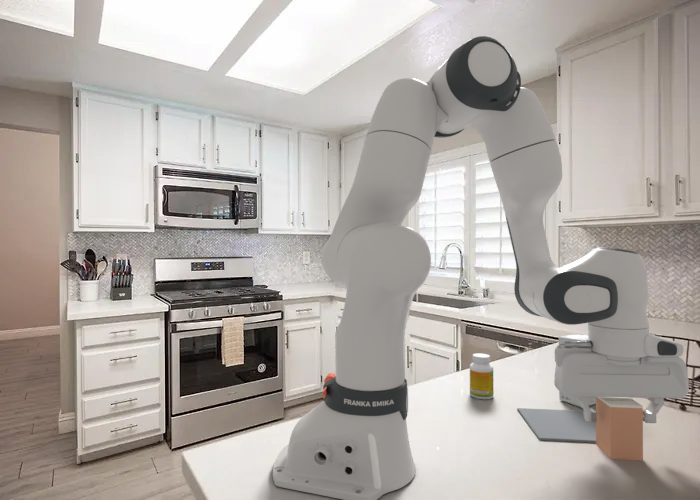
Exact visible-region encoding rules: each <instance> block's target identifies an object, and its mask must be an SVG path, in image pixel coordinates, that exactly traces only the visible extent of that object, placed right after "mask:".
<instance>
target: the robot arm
mask: <svg viewBox="0 0 700 500" xmlns="http://www.w3.org/2000/svg"><path fill="white" fill-rule="evenodd" d="M521 78H522V77H521V74H520V72H519V71H518V68H517V64H516V62H515V60H514V58H513V56H512V55H511V53H510V52H509V50H508V49H507V47H506V46H505V45H503V44H502V42H500V41H498V40H497V39H495V38H493V37H490V36H485V35H483V36H481V35H479V36H476V37H473V38H470V39H469V40H467V41H465V42H463V43H462V44H461V45H459V46H458V47H457V48H456V49H454V51H453V52H452V53H451V54H450V56H449V57H448V59H446V60H445V61H444V63H442V65H441V66H439V67H438V69H437V70H435V72H434V73H433V75H432V76H431V77H430V78H429V80H428V81H426V82H424V81H421V80H419V79H416V78H411V77H410V78H409V77H408V78H405V77H404V78H399V79H396V80H394V81H392V82H391V83H389V84H388V85H387V86H386V87H385V89H384V90H383V92H382V94H381V95H380V98H379V99H378V102H377V104H376V107H375V110H374V112H373V114H372V117H371V119H370V122H369V125H368V128H367V132H366V135H365V139H364V143H363V147H362V151H361V154H360V156H359V162H358V165H357V167H356V172H355V176H354V179H353V183H352V184H351V188H350V190H349V193H348V195H347V197H346V199H345V200H344V203H343V206H342V207H341V210H340V212H339V215H338V216H337V220H336V222H335V224H334V227H333V230H332V232H331V234H330V236H329V238H328V239H327V240H326V242H325V243H324V246H323V247H322V251H321V255H320V258H321V265H322V268H323V270H324V272H325V274H326V275H327V276H328V277H329V278H330V279H331V281H332V282H334V284H336V285H338V286H339V287H341V288H344V289H346V295H345V302H344V306H343V309H342V316H341V319H340V322H339V324H338V325H337V327H336V329H335V335H334V339H335V347H334V348H335V351H334V352H335V353H334V354H335V355H334V356H335V357H334V358H335V359H334V361H335V362H334V363H335V373H333V372H330V373H328V374H327V375H326V377H325V378H324V382H323V385H322V398H323V399H322V400H323V401H322V402H320V403H319V404H318V405H317V406H315V407H313V408H312V409H311V410H310V411H309V412H307V413H306V414H304V415H303V416H301V418H299V420H298V421H297V422H296V424H295V426H294V427H293V430H292V432H291V434H290V437H289V442H288V444H287V445H286V446H285V447H283V449H282V450H281V451H280V452H279V454H278V456H277V457H276V458H275V461H274V465H273V467H272V480H273V483H274V485H275V486H276V487H279V488H284V489H288V490H294V491H299V492H305V493H308V494H309V493H310V494H314V495H319V496H323V497H329V498H335V499H340V500H379V499H380V498H381V497H382V496H384V495H385V494H388V493H390V492H393V491H396V490H399V489H401V488H403V487H405V486H406V485H407V484H409V483H410V482H411V481H412V480H413V479H414V477H415V474H416V464H415V461H414V457H413V454H412V450H411V444H410V440H409V433H408V423H407V417H408V413H409V387H408V380H407V379H406V378H405V352H406V351H405V346H406V345H405V341H406V340H405V339H406V328H407V323H408V318H409V314H410V310H411V307H412V304H413V299H414V298H415V295H416V293H417V292H418V290H419V289H420V288H421V287H422V286H423V284H424V283H425V282H426V280H427V278H428V276H429V273H430V271H431V266H432V265H431V264H432V258H431V255H432V254H431V251H430V248H429V246H428V243H427V241H426V240H425V238H424V236H423V235H421V233H419V232H418V231H416V230H415V229H414V228H411V227H408V226H406V225H402V224H403V223H404V220H405V219H406V217H407V215H408V214H409V212H410V211H411V210H412V208H413V207H414V206H415V205H416V204H417V202H418V201H419V199H420V197H421V195H422V192H423V191H422V190H423V187H424V182H425V178H426V173H427V169H428V165H429V162H430V161H429V160H430V158H431V153H432V150H433V149H432V148H433V144H434V138H450V137H453V136H456V135H458V134H460V133H461V132H463V131H464V130H465V129H466V128H469V126H471V125H472V128H473V129H474V130H475V131H477V133H478V134H479V136H480V137H481V139H482V140H483V142H484V144H485V150H486V154H487V159H488V161H489V164H490V168H491V172H492V174H493V177H494V181H495V184H496V187H497V190H498V192H499V197H500V201H501V203H502V207H503V211H504V214H505V219H506V225H507V229H508V234H509V238H510V242H511V247H512V250H513V255H514V260H515V267H516V273H515V281H514V296H515V299H516V301H517V303H518V304H519V306H520V307H521V308H522V309H523V310H524V311H525V312H527V313H528V314H530V315H533V316H537V317H541V318H544V319H548V320H550V321H554V322H556V323H558V324H561V325H562V324H563V325H569V326H572V325H583V324H587V335H588V341H577V342H572V341H564V342H563V343H562V344H560V345H559V344H558V345H557V346H556V347H555V349H554V362H555V368H554V369H555V370H554V380H553V381H554V386H555V388H556V390H558V392H559V391H560V392H561V393H562V394H563V395H565V396H576V398H577V400H578V401H579V403H580V405H581V406H582V408H581V409H583V410H582V411H584V419H585V420H586V421H588V422H597V418H596V417H597V412H596V410H595V409H594V408H593V407H592V408H591V407H590V406H588V404H587V403H589V402H590V397H630V398H631V399H633V398H637V399H638V398H640V399H641V398H642V399H644V398H645V399H647V400H648V401H649V402H648V404H647V407H646V408H645V409H643V423H645V424H657V415H658V413H659V412H660V410H661V409H662V407H663V406H664V405H665V403H664V402H665V399H684V398H685V397H686V396H687V395H688V393H689V387H690V386H689V374H688V368H687V364H686V362H685V360H684V359H683V358H681V357H682V356H683V354H684V352H685V351H684V350H685V349H684V346H683V344H682V343H679V342H678V341H674V340H672V339H669V338H667V337H662V336H660V335H658V334H656V333H652V332H650V323H649V320H648V318H647V307H648V304H649V281H648V273H647V268H646V264H645V261H644V259H643V257H642V256H641V255H640V254H639V253H637V252H635V251H633V250H630V249H629V250H628V249H623V248H617V247H614V248H612V247H606V246H605V247H603V246H602V247H596V248H595V247H594V248H592V249H591V250H590V251H589V252H588V253H587V254H586V255H584V256H583V257H581V258H579V259H577V260H575V261H573V262H571V263H568V264H566V265H562V267H558V266H557V265H556V264H555V263H554V261H553V260H552V257H551V254H550V253H551V252H550V249H549V244H548V240H547V236H546V230H545V226H544V213H545V209H546V207H547V204H548V203H549V200H551V198H552V196H553V195H554V193H555V192H556V191H557V189H558V188H559V186H560V184H561V181H562V179H563V164H562V157H561V152H560V148H559V145H558V143H557V139H556V135H555V132H554V130H553V127H552V124H551V122H550V119H549V118H548V117H549V116H548V115H547V113H546V111H545V109H544V107H543V104H542V103H541V102H540V99H539V98H538V96H537V94H536V93H535V92H534V91H533V90H531V89H530V88H527V87H522V80H521ZM561 346H563V347H561ZM586 402H587V403H586Z"/></svg>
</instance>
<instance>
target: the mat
mask: <svg viewBox="0 0 700 500" xmlns="http://www.w3.org/2000/svg"><path fill="white" fill-rule="evenodd" d="M516 410H517V411H518V413H519V414H520V415H521V417H522V419H523V420H524V421H525V422H526V424H527V425H528V427H529V428H530V429H531V430H532V432H533V433H534V434H535V436H536V438H537V439H538V440H539V441H553V442H568V443H569V442H570V443H571V442H573V443H575V442H576V443H590V444H591V443H594V444H596V422H588V421H586V420H585V419H584V410H575V409H574V410H573V409H572V410H571V409H570V410H568V409H551V408H550V409H547V408H522V407H521V408H520V407H518V408H517V409H516Z"/></svg>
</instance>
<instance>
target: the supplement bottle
mask: <svg viewBox="0 0 700 500" xmlns="http://www.w3.org/2000/svg"><path fill="white" fill-rule="evenodd" d="M472 361H473V362H471V363H470V365H469V396H471V397H472V398H474V399H477V400H492V399H493V398H494V366H493V365H492V364H490V363H491V355H489V354H488V353H487V354H486V353H479V352H478V353H473V354H472Z"/></svg>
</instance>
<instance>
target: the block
mask: <svg viewBox="0 0 700 500" xmlns="http://www.w3.org/2000/svg"><path fill="white" fill-rule="evenodd" d="M643 410H644V408H643V405H642V404H641V403H639V402H637V401H636V400H634V399H633V398H631V397H596V404H595V411H596V412H597V417H596V418H597V422H596V443H595V444H596V446H597V447H598V449H599V448H600V450H601V451H602V452H603V453H604V454H605V455H606V456H607V457H608V458H609V459H611V460H612V459H613V460H627V461H628V460H629V461H630V460H631V461H644V435H643V434H644V428H643V427H644V426H643V424H644V421H643Z"/></svg>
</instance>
